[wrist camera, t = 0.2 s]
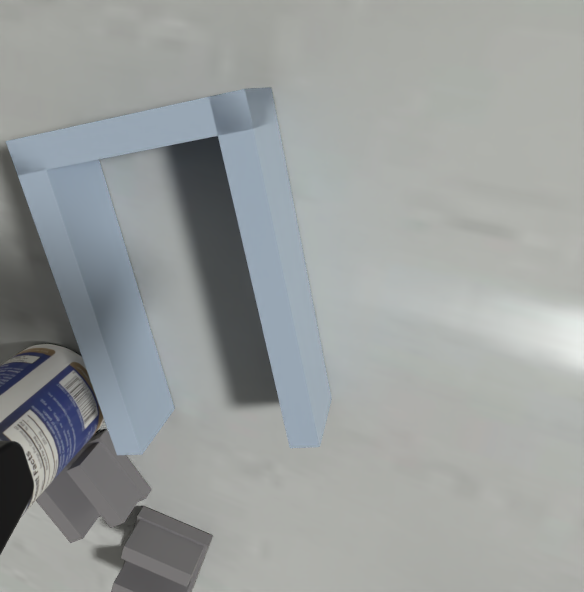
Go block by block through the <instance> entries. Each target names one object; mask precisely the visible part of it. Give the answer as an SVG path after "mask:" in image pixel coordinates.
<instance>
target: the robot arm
mask: <svg viewBox="0 0 584 592" xmlns="http://www.w3.org/2000/svg"><path fill="white" fill-rule="evenodd" d="M33 491H34V480H33V477H32V474H31V471H30V468H29V465H28V462H27V459H26V455H25V452H24V449H23V447H22V446H21V445H20V444H19V443H18V442H16V441H1V440H0V554H1V553H2V551H3V549H4V547H5V545H6V543H7V542H8V540H9V538H10V536H11V534H12V532H13V530H14V529H15V527H16V525H17V523H18V521H19V519H20V518H21V516H22V514H23V512H24V510H25V508H26V507H27V505H28V503H29V501H30V499H31V497H32V494H33Z"/></svg>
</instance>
